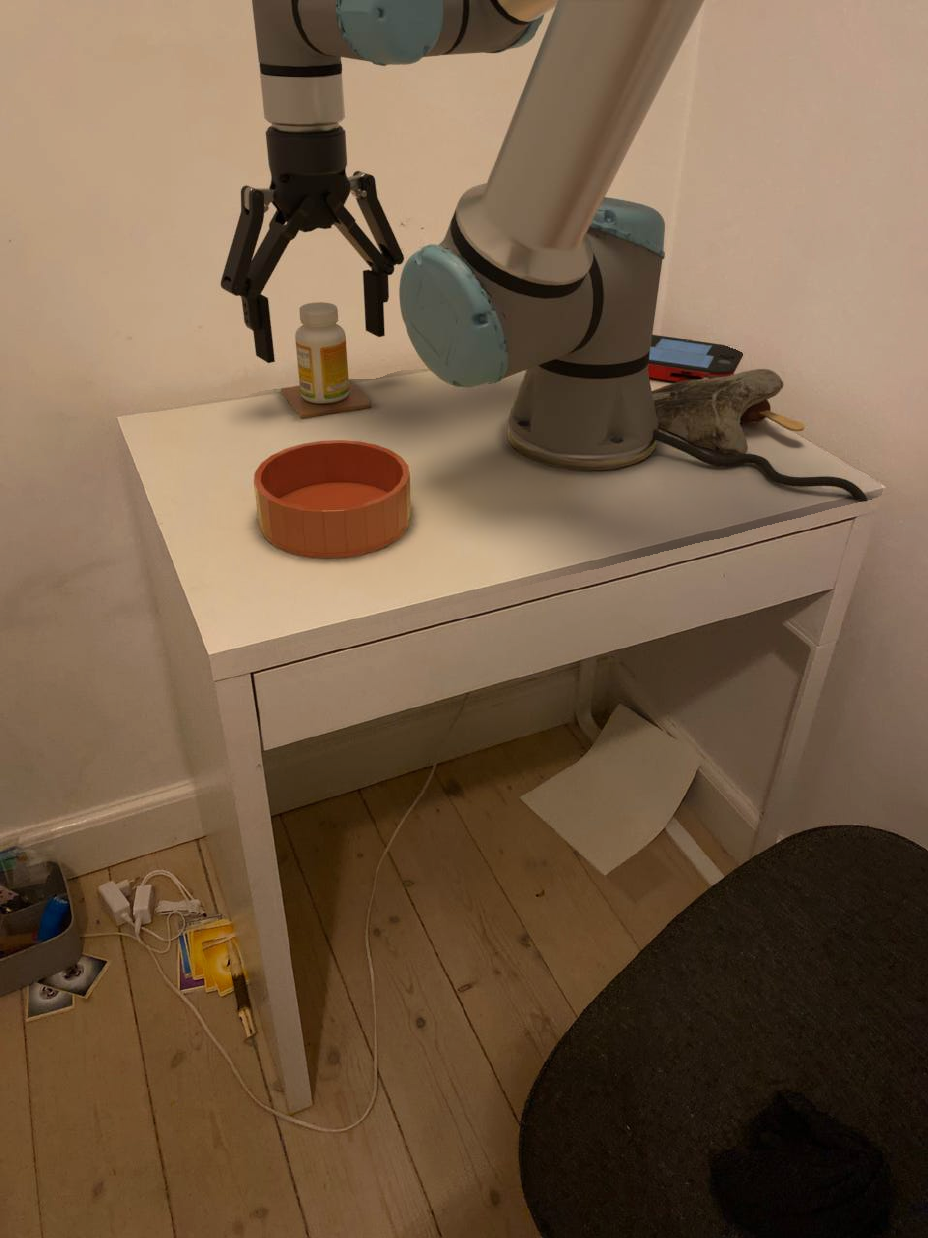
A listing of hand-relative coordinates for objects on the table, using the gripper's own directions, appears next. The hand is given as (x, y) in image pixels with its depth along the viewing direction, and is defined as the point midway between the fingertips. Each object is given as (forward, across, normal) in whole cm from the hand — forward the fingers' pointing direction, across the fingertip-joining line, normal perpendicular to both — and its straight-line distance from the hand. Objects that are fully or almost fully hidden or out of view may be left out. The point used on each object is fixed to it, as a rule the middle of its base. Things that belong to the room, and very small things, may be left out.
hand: (322, 345), depth 102 cm
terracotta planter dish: (+6, +13, +24) cm, 28 cm away
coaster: (+6, 0, 0) cm, 6 cm away
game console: (+6, -40, +15) cm, 43 cm away
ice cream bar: (+4, -32, +39) cm, 50 cm away
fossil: (+5, -26, +21) cm, 34 cm away
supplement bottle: (+6, 0, 0) cm, 6 cm away
